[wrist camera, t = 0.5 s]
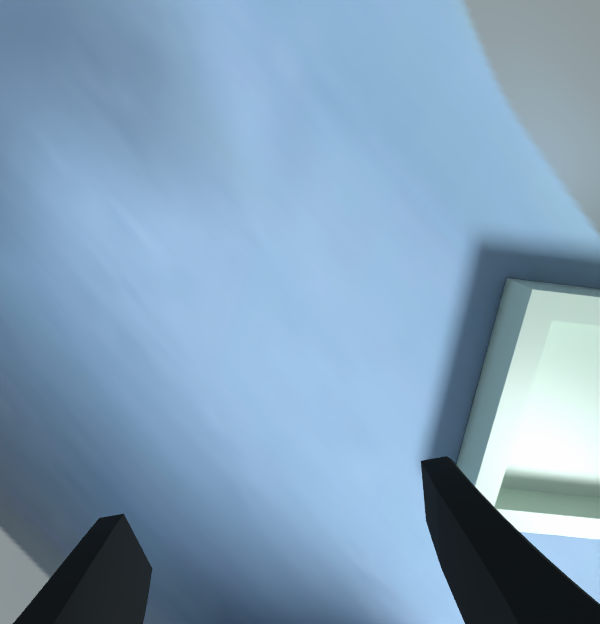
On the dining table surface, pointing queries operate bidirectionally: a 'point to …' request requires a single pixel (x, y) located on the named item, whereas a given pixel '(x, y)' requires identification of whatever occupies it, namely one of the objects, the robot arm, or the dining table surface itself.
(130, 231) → the dining table surface
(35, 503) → the dining table surface
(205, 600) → the dining table surface
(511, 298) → the sage tray
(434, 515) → the robot arm
